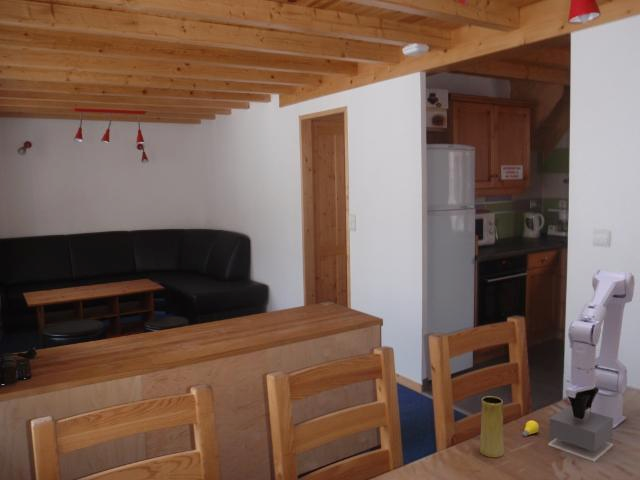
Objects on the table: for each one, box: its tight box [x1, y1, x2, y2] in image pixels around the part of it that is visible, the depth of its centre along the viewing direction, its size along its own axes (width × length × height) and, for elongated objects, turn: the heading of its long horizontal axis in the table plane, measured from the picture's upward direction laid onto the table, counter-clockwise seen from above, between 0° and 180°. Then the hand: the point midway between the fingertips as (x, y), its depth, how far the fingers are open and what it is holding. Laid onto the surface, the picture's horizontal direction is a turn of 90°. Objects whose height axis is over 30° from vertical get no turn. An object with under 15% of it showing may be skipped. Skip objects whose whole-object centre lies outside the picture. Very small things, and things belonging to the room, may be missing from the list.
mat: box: [547, 438, 614, 462], centre depth 146 cm, size 12×12×1 cm
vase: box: [479, 395, 505, 458], centre depth 143 cm, size 6×6×14 cm
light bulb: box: [522, 420, 540, 437], centre depth 153 cm, size 3×6×4 cm, turn 126°
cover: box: [549, 405, 614, 452], centre depth 145 cm, size 12×12×8 cm
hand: (581, 415), depth 145 cm, fingers closed on cover, 3 cm apart
